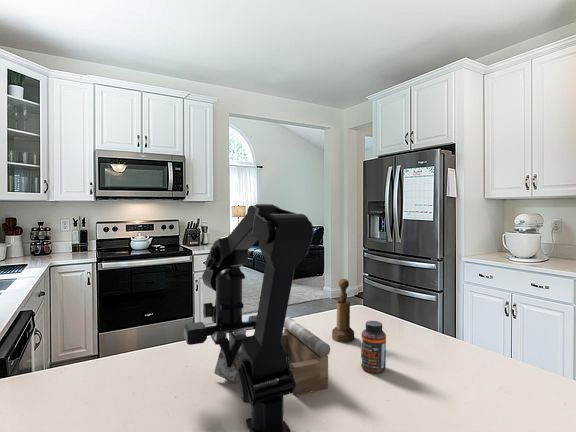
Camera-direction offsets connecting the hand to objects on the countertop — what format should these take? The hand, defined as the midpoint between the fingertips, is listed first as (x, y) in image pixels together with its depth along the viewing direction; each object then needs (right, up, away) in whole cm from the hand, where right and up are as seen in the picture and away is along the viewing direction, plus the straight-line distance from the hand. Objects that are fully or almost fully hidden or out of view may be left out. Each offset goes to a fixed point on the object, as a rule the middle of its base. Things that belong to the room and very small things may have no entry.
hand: (228, 366), depth 79 cm
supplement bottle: (+34, -4, +8) cm, 35 cm away
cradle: (+14, -4, +6) cm, 16 cm away
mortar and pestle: (+30, -4, +28) cm, 41 cm away
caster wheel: (+4, -4, +5) cm, 7 cm away
